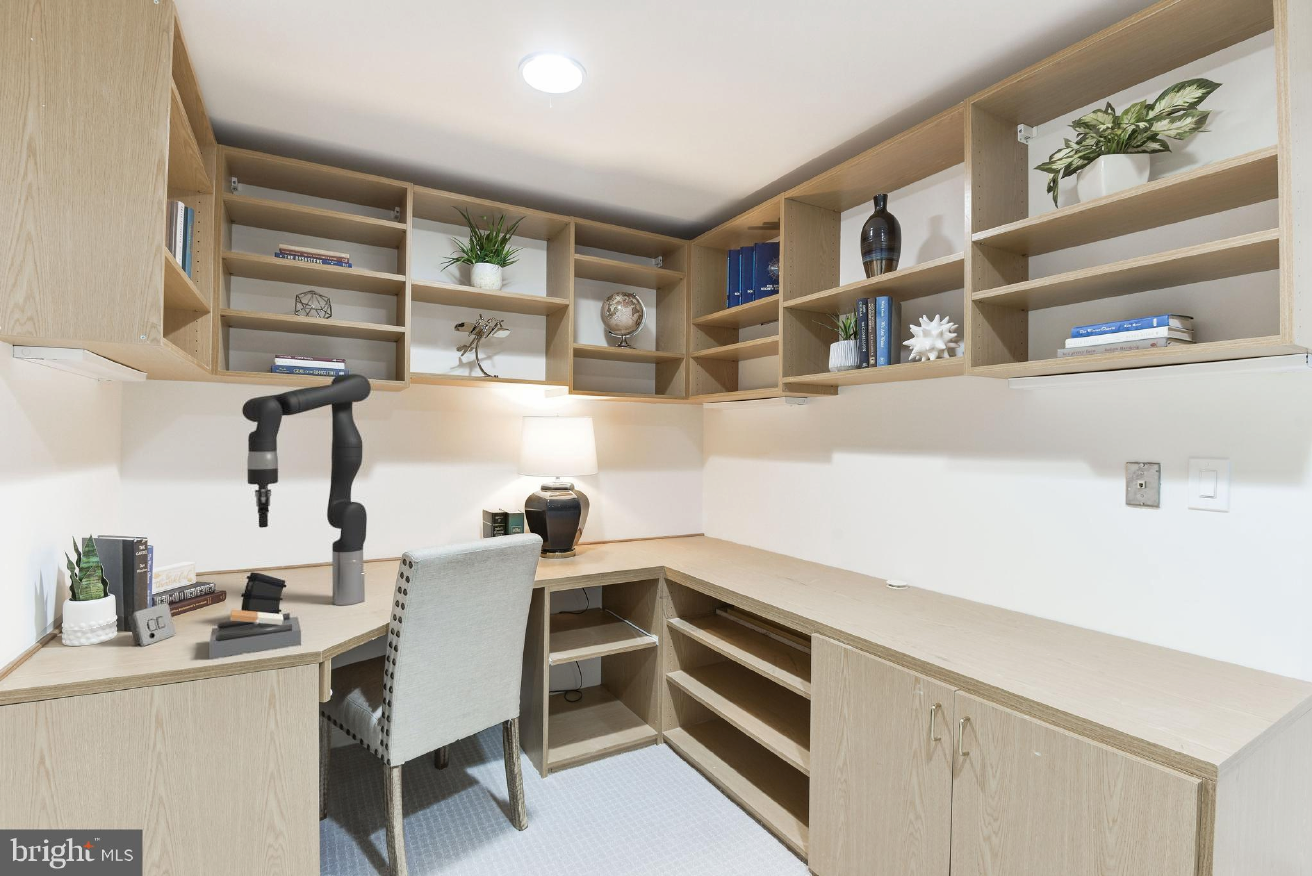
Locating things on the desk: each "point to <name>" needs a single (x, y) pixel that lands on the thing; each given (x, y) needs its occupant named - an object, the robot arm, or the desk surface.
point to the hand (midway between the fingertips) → (263, 526)
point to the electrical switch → (152, 624)
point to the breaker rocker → (256, 617)
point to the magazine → (262, 593)
